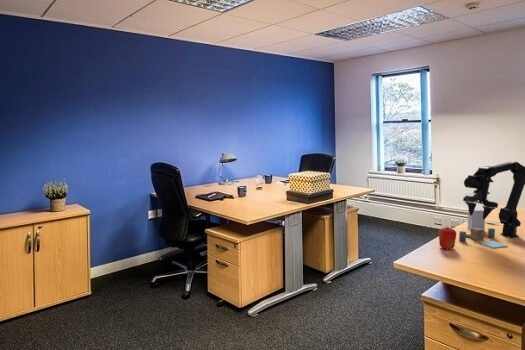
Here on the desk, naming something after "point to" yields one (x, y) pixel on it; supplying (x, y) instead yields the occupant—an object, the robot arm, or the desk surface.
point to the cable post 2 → (491, 233)
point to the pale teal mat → (493, 244)
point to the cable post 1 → (462, 236)
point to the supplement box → (476, 219)
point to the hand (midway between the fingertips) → (477, 217)
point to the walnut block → (477, 234)
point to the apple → (447, 238)
